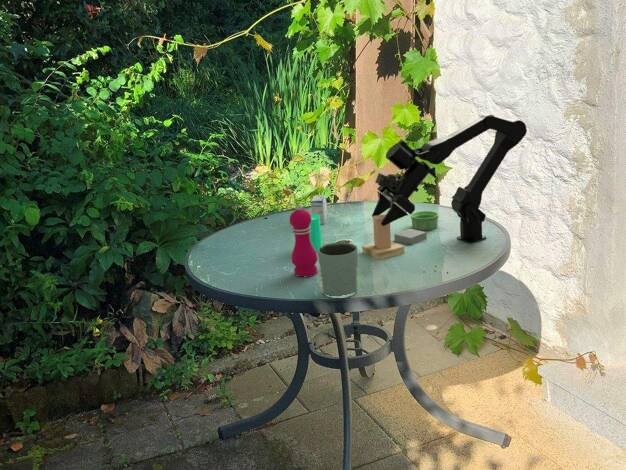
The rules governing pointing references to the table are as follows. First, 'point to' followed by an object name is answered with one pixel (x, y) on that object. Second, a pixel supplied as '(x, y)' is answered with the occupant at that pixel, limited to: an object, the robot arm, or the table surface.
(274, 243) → the table surface
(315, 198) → the medicine box
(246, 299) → the table surface
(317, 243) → the candle
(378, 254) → the oak block
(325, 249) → the plant pot
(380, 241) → the terracotta block
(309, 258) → the pepper mill
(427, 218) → the ramekin
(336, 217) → the table surface
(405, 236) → the slate block
